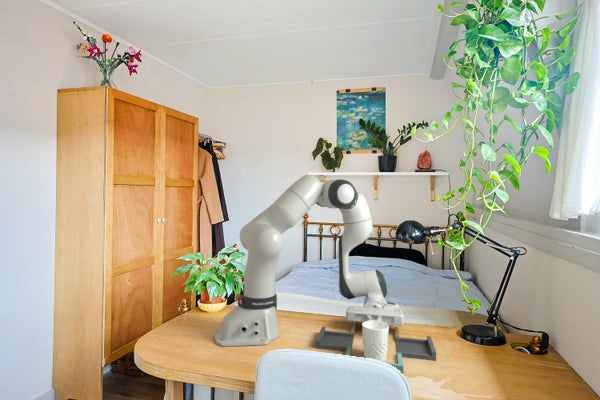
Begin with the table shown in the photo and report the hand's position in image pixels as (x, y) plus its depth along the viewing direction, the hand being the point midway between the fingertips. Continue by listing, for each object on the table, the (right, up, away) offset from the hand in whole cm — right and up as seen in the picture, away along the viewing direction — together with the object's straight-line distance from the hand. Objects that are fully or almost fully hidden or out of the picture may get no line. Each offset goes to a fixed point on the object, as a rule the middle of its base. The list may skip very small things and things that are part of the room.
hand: (374, 323), depth 123 cm
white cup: (-2, -6, -13) cm, 15 cm away
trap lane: (-1, -6, -5) cm, 8 cm away
